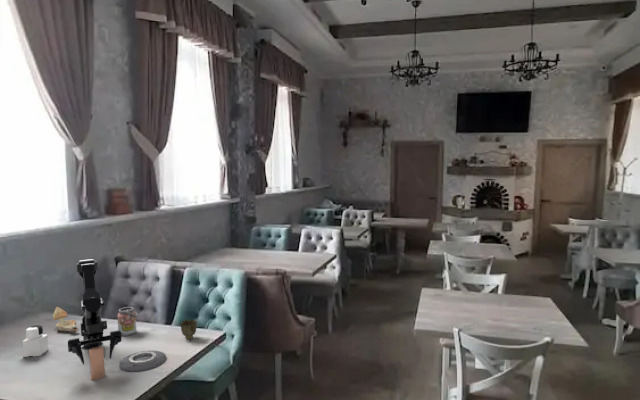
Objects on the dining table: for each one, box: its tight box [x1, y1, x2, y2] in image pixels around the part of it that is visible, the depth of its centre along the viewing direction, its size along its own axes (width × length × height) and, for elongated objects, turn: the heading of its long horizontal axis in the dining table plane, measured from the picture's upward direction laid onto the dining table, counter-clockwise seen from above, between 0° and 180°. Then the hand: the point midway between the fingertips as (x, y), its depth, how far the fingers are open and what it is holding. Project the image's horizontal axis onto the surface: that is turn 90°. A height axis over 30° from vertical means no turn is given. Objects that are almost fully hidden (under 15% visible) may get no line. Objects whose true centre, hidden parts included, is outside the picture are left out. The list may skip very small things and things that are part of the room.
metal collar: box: [129, 350, 156, 366], centre depth 184 cm, size 11×11×1 cm
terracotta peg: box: [88, 345, 106, 381], centre depth 171 cm, size 5×5×11 cm
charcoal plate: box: [118, 350, 167, 373], centre depth 184 cm, size 18×18×1 cm
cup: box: [179, 319, 198, 341], centre depth 207 cm, size 8×7×8 cm
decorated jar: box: [117, 306, 139, 337], centre depth 216 cm, size 9×8×12 cm
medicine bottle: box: [21, 324, 49, 358], centre depth 194 cm, size 7×7×12 cm
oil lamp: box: [52, 306, 79, 333], centre depth 222 cm, size 9×21×10 cm, turn 51°
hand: (97, 361), depth 170 cm, fingers open, 9 cm apart
